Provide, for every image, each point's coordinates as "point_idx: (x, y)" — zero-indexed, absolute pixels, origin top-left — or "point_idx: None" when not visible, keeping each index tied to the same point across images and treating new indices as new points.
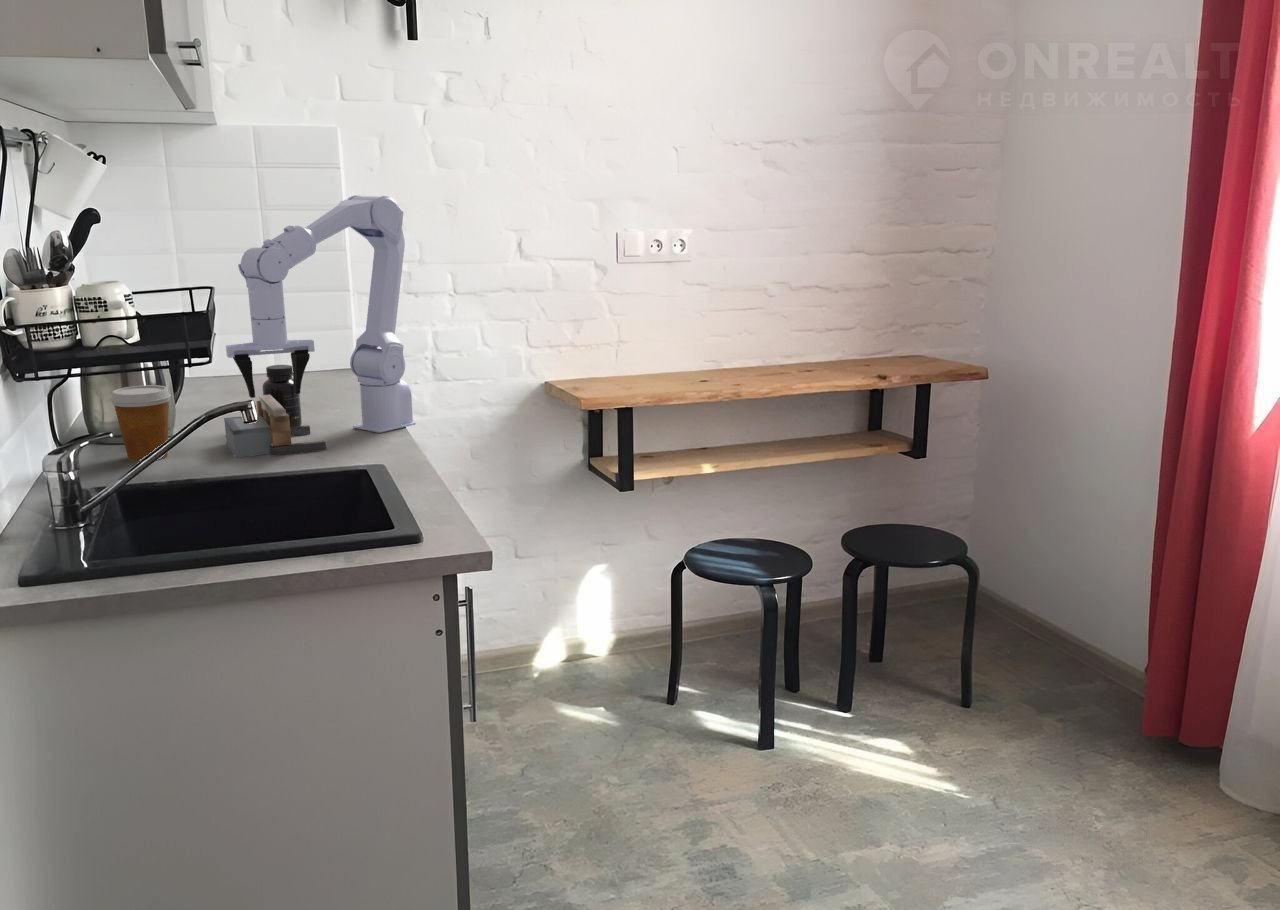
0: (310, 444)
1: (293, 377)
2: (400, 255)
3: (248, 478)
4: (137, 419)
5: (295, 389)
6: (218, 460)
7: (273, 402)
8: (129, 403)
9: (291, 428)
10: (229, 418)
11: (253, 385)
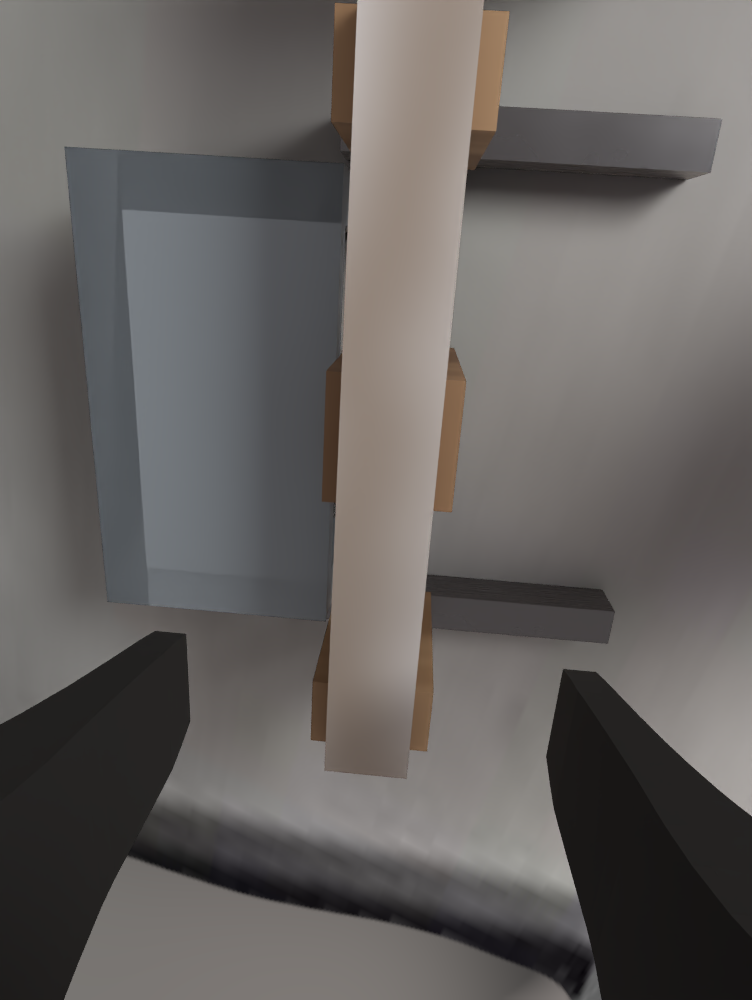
0: (525, 632)
1: (612, 754)
2: None
3: (185, 854)
4: None
5: (556, 762)
6: (91, 545)
7: (400, 468)
8: None
9: (575, 165)
10: (103, 190)
11: (137, 828)
